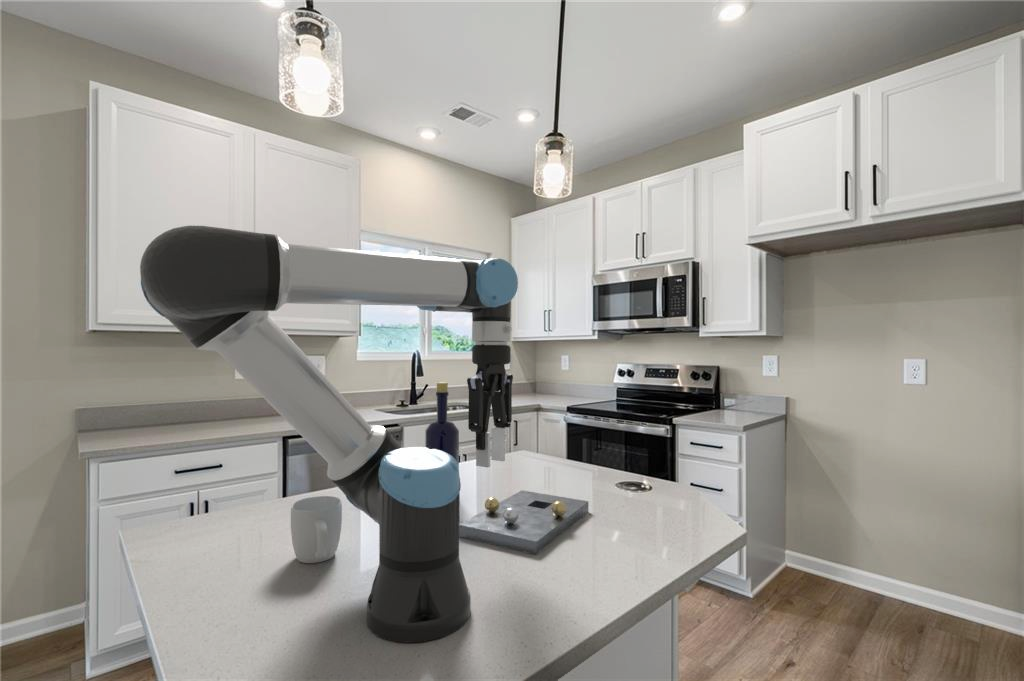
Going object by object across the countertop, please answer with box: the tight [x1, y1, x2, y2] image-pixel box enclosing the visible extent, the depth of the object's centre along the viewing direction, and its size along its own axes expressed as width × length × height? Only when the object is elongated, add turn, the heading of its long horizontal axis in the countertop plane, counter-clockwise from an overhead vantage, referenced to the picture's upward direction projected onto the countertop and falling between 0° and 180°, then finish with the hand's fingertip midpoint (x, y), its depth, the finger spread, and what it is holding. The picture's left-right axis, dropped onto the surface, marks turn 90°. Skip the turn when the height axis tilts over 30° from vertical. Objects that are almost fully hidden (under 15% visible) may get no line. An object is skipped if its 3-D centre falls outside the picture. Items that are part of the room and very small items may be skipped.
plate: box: [459, 490, 589, 556], centre depth 111 cm, size 28×18×2 cm, turn 151°
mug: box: [290, 495, 343, 564], centre depth 92 cm, size 13×9×10 cm
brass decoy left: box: [484, 497, 500, 512], centre depth 111 cm, size 3×3×3 cm
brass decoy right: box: [551, 501, 566, 517], centre depth 109 cm, size 3×3×3 cm
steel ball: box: [503, 508, 518, 524], centre depth 104 cm, size 3×3×3 cm
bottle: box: [424, 381, 460, 468], centre depth 128 cm, size 9×9×30 cm
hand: (490, 462), depth 97 cm, fingers open, 5 cm apart
